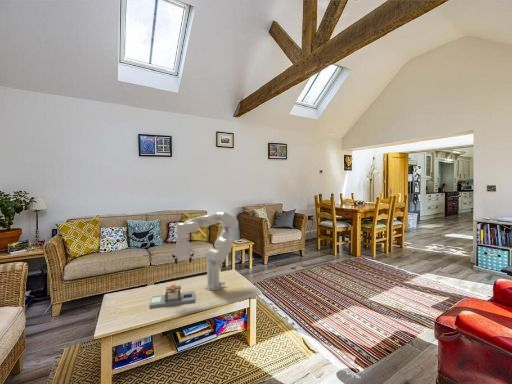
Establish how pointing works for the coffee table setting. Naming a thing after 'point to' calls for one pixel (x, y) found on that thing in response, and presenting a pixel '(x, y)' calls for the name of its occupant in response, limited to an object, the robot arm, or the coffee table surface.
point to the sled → (173, 295)
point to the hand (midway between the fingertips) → (183, 263)
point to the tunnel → (168, 290)
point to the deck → (172, 300)
